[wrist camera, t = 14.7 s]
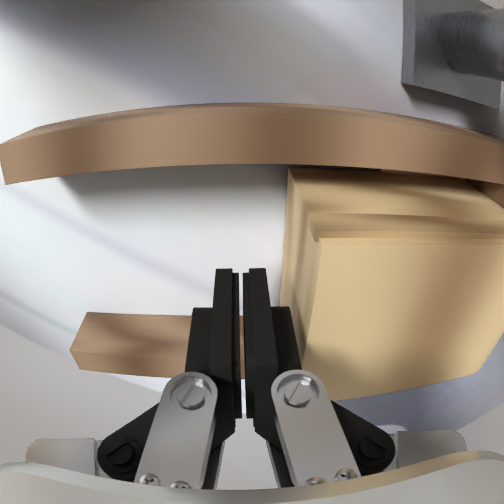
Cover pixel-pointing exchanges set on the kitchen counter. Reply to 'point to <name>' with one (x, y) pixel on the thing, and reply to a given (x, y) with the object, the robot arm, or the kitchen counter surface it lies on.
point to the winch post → (454, 48)
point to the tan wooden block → (391, 278)
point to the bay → (234, 152)
